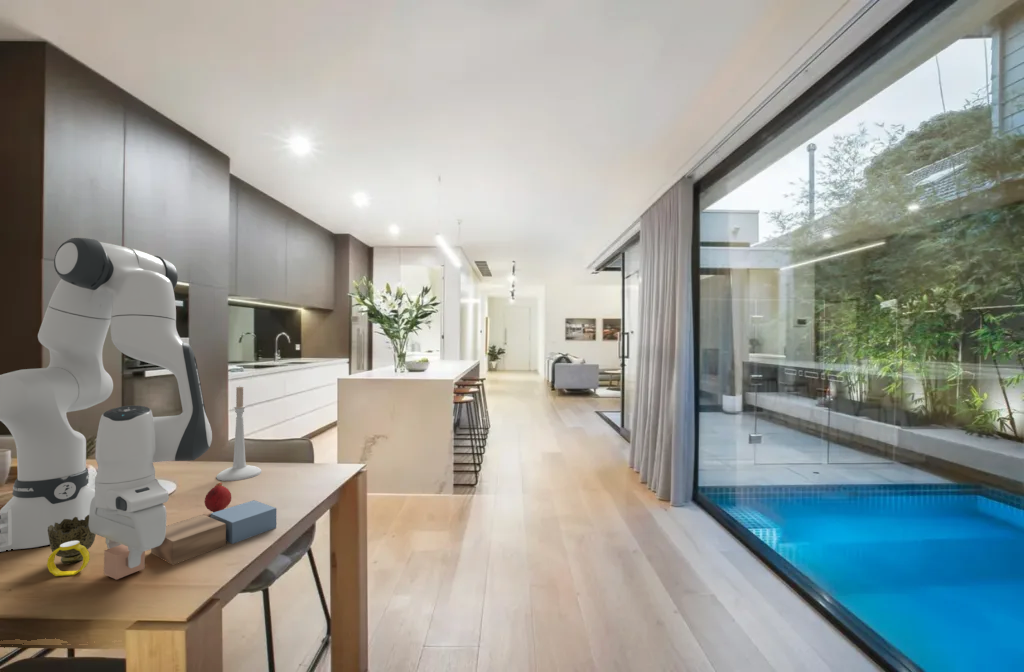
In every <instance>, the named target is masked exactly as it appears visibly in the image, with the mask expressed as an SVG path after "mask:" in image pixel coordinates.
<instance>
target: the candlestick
mask: <svg viewBox="0 0 1024 672" xmlns="http://www.w3.org/2000/svg"><path fill="white" fill-rule="evenodd" d="M235 393H236V397H235V398H236V399H235V402H236V403H235V406H233V409H235V410H234V413H236V418H235V432H234V434H235V435H234V445H233V446H234V449H233V461H232V466H231V467H228V468H226V469H223V470H222V471H220V472H219V473H218V474H217V475H216V480H218V481H223V482H224V481H225V482H228V481H229V482H231V481H241V480H247V479H251V478H254V477H257V476H258V475H261V474H262V469H261V468H260V467H258V466H255V465H249V464H247V463H246V448H245V431H244V430H245V428H244V416H243V414H244V413H245V408H247V407H246V405H244V387H243V386H237V387H236V391H235Z"/></svg>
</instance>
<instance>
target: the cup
mask: <svg viewBox="0 0 1024 672" xmlns="http://www.w3.org/2000/svg"><path fill="white" fill-rule="evenodd" d="M96 535H97V534H94V533H91V532H90V529H89V515H87V516H86V517H85V520H83V519H82V520H78V517H74V518H73V519H72V520H71V519H64V520H63V521H62V522H61V523H60V524H58V523H55V524H54V526H53V525H50V526H48V536H49V542H50V544H49V546H50V550H51V553H52V552H53V551H55V550H56V549H58V548H59V547H60V545H61V544H63V543H66V542H69V541H80V544H81V545H83V546H85V547H86V548H87V550H88V551H89V549H90V548H91V547H92V546H93V544H94V543H95V539H96ZM55 557H59V558H60V562H61V564H63V565H69V564H71V565H72V564H74V563H77V562H79V561H81V560H82V561H83V556H82V554H81V553H80V551H78V550H76V549H70V550H59V551H58V552H57V554H56V555H55Z"/></svg>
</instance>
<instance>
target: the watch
mask: <svg viewBox="0 0 1024 672" xmlns="http://www.w3.org/2000/svg"><path fill="white" fill-rule="evenodd" d="M70 549H76V550H78V551H80V553H81V554H82V556H83V559H82V564H81V565H80V568H79V569H77V570H66V571H64V570H60V568H58V567H57V566H56V563H55V559H56V554H57V552H58V551H59V550H70ZM89 562H90V552H89V549H88V550H87V548H86V547H85V546H83V545H81V544H80V541H69V542H66V543H63V544H61V545H60V547H59V548H58V549H56V550H55V551H53V552H52V551H51V554H50V555H49V556H48V558H47V562H46V566H47V569H48V571H49V573H50V574H52V575H53V576H55V577H65V576H76V575H77V574H78V573H79V572H81V571H82V570H84V569H85V568H86V567H87V565H88V564H89Z"/></svg>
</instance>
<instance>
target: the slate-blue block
mask: <svg viewBox="0 0 1024 672" xmlns="http://www.w3.org/2000/svg"><path fill="white" fill-rule="evenodd" d="M209 515H210V516H209V517H210V518H213V519H215V520H218V521H220V522H223V523H225V524H226V543H227V542H228V543H229V544H231V545H233V544H236V543H239V542H242V541H243V540H248V539H249V538H252V537H255V536H257V535H260V534H263V533H265V532H268V531H271V530H274V529H276V528H277V507H275V506H271V505H270V504H266V503H263V502H261V501H257V500H255V499H254V500H250V501H247V502H243V503H241V504H237V505H234V506H230V507H226V508H225V509H223V510H220V511H217V512H211V513H209Z"/></svg>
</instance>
